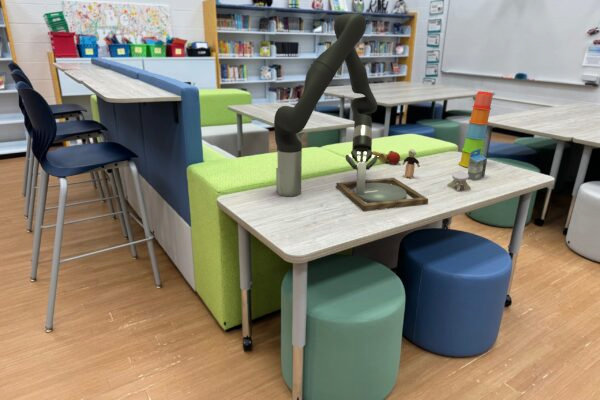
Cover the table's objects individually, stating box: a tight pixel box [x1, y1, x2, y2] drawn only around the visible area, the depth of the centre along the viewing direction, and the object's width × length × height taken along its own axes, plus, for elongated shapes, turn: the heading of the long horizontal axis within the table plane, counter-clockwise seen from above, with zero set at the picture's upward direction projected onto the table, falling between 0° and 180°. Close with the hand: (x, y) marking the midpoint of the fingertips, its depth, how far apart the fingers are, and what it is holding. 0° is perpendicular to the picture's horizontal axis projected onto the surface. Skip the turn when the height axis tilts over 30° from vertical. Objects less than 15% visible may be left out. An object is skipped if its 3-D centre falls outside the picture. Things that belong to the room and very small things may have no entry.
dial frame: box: [335, 177, 429, 212], centre depth 165 cm, size 26×26×2 cm
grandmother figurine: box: [401, 148, 421, 179], centre depth 185 cm, size 8×4×13 cm, turn 68°
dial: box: [353, 162, 408, 203], centre depth 163 cm, size 20×20×14 cm
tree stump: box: [446, 170, 472, 192], centre depth 174 cm, size 10×9×6 cm
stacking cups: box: [458, 90, 494, 168], centre depth 199 cm, size 10×10×35 cm
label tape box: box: [467, 149, 488, 181], centre depth 185 cm, size 9×4×12 cm, turn 131°
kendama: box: [372, 150, 401, 165], centre depth 211 cm, size 8×6×18 cm
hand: (360, 178), depth 163 cm, fingers closed
